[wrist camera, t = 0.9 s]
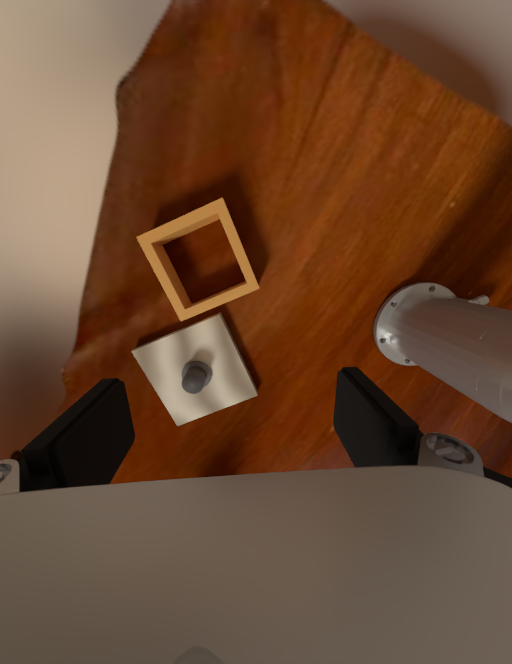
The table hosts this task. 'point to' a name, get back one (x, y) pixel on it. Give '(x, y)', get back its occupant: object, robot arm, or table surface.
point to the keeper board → (197, 349)
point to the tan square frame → (167, 273)
